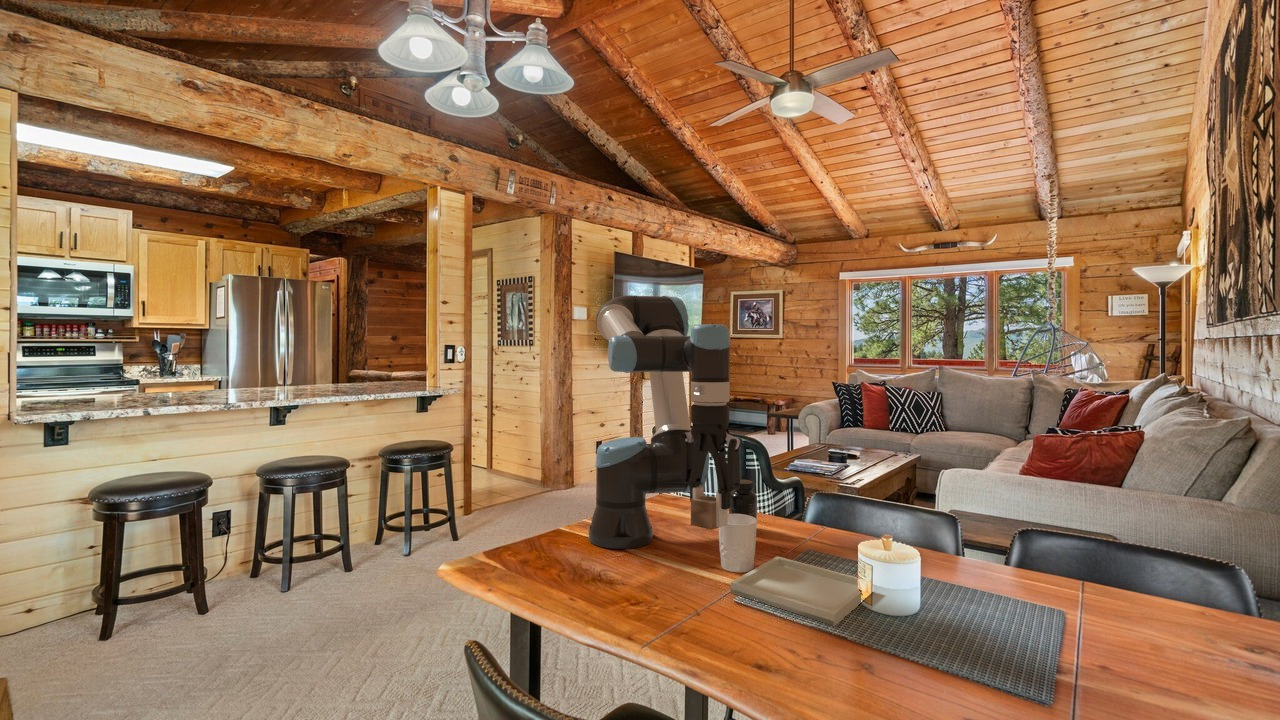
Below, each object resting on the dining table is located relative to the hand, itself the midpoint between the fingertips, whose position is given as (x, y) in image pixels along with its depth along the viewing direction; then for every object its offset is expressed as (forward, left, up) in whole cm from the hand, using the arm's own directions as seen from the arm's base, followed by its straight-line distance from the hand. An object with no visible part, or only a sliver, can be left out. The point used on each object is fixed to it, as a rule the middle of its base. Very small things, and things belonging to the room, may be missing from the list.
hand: (709, 522), depth 119 cm
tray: (+16, +6, -11) cm, 21 cm away
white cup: (0, +9, -12) cm, 15 cm away
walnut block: (0, 0, 0) cm, 1 cm away
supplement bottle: (-12, +31, -12) cm, 35 cm away
